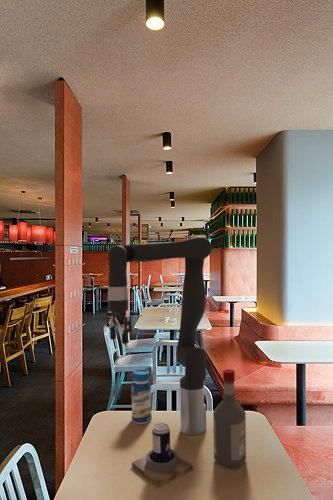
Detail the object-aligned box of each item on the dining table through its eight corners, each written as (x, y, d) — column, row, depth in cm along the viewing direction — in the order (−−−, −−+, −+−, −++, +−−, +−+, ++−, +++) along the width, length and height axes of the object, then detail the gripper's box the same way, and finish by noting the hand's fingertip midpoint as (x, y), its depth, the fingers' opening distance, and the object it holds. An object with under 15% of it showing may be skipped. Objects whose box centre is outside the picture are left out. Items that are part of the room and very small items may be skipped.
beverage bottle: (153, 416, 166) (152, 368, 165) (150, 425, 157) (149, 375, 157) (134, 415, 167) (133, 368, 167) (129, 424, 158) (128, 374, 158)
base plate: (165, 452, 137) (165, 447, 137) (192, 469, 126) (192, 465, 126) (132, 466, 128) (131, 462, 128) (158, 487, 117) (158, 482, 117)
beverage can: (168, 469, 124) (168, 431, 123) (151, 467, 125) (150, 429, 125) (171, 459, 129) (171, 423, 129) (155, 458, 130) (154, 422, 130)
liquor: (248, 458, 132) (247, 369, 132) (237, 471, 124) (235, 377, 124) (223, 450, 137) (222, 365, 137) (211, 463, 129) (210, 372, 129)
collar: (164, 452, 134) (164, 444, 134) (184, 464, 126) (183, 457, 126) (140, 462, 128) (140, 454, 128) (159, 476, 120) (159, 468, 120)
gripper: (136, 299, 145) (137, 343, 145) (116, 295, 156) (117, 336, 156) (119, 301, 140) (120, 346, 140) (99, 297, 151) (100, 339, 151)
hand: (118, 341), depth 148 cm, fingers open, 8 cm apart
